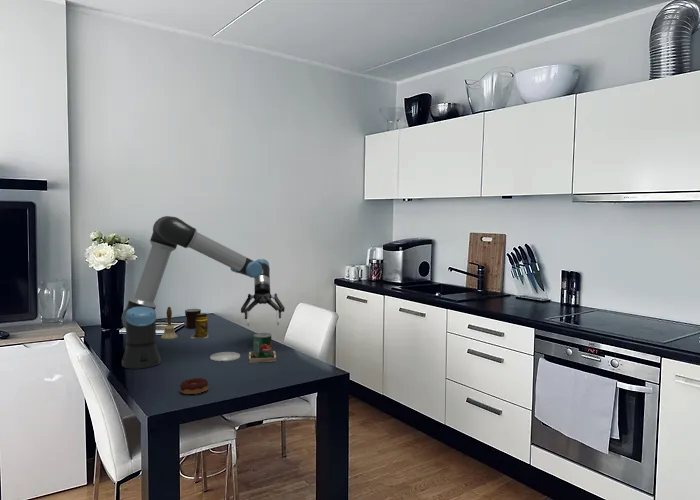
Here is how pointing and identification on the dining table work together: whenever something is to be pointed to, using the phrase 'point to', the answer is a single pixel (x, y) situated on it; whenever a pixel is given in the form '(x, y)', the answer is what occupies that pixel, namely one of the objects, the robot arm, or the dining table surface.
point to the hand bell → (169, 327)
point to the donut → (194, 386)
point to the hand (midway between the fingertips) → (263, 324)
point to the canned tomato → (262, 345)
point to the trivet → (225, 356)
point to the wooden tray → (256, 360)
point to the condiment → (201, 326)
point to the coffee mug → (191, 317)
